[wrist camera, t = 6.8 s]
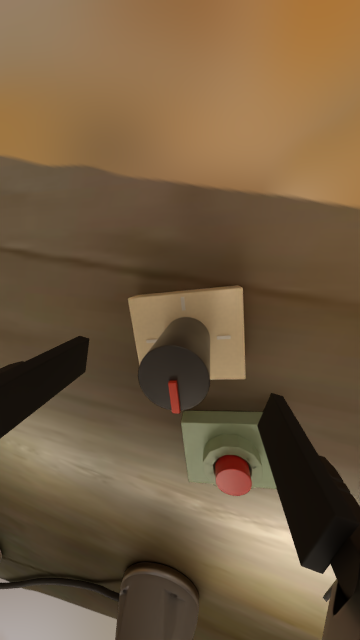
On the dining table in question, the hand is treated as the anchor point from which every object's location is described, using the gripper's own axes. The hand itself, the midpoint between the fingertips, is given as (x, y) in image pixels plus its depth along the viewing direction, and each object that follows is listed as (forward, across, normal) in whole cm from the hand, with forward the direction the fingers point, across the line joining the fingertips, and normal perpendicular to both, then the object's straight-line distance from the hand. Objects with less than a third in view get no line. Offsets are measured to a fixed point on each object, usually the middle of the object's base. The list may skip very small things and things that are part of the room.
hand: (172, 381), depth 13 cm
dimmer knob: (+8, 0, 0) cm, 8 cm away
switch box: (+11, +9, -14) cm, 20 cm away
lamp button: (+7, +9, -14) cm, 18 cm away
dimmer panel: (+11, 0, 0) cm, 11 cm away
